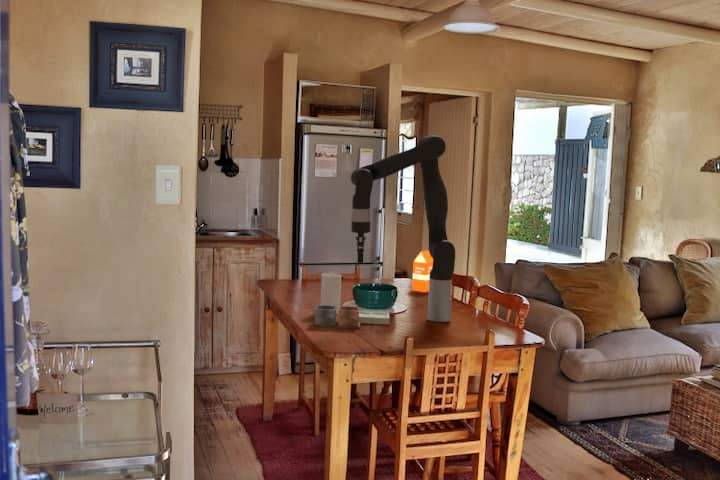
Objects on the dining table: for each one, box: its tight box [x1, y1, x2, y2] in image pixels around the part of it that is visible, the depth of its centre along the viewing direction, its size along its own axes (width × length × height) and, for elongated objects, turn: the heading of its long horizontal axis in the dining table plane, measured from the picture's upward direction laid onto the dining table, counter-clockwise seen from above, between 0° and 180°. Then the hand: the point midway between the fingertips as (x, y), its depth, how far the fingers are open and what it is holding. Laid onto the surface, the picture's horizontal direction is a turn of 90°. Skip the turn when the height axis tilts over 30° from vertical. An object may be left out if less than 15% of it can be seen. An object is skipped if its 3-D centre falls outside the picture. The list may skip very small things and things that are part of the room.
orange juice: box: [411, 249, 433, 293], centre depth 348 cm, size 8×9×20 cm
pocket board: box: [359, 311, 390, 325], centre depth 278 cm, size 15×10×2 cm, turn 89°
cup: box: [320, 272, 342, 315], centre depth 290 cm, size 8×8×16 cm
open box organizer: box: [312, 304, 361, 330], centre depth 269 cm, size 18×9×7 cm, turn 89°
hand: (360, 261), depth 272 cm, fingers open, 8 cm apart
